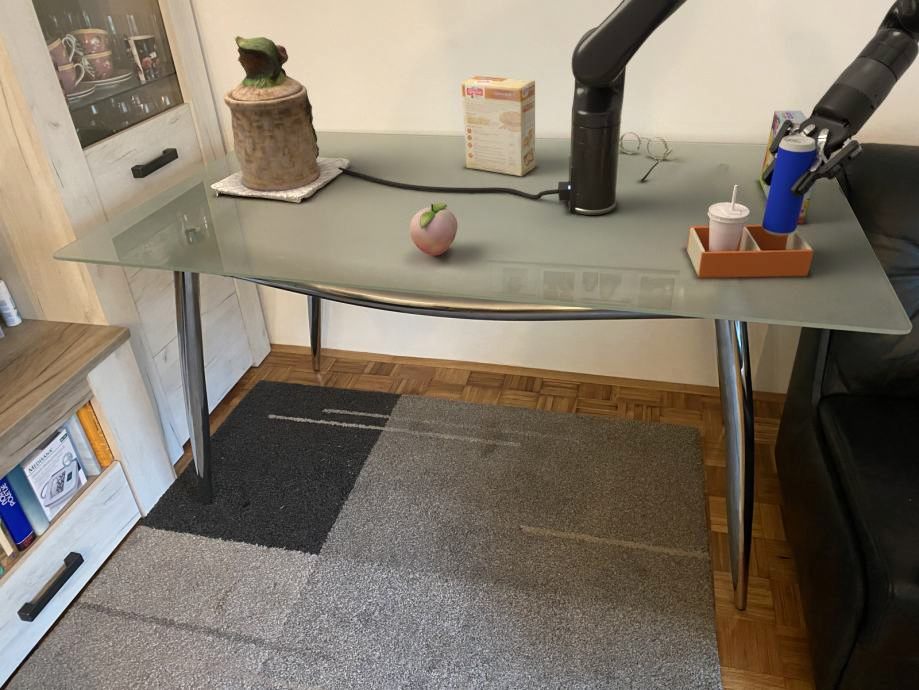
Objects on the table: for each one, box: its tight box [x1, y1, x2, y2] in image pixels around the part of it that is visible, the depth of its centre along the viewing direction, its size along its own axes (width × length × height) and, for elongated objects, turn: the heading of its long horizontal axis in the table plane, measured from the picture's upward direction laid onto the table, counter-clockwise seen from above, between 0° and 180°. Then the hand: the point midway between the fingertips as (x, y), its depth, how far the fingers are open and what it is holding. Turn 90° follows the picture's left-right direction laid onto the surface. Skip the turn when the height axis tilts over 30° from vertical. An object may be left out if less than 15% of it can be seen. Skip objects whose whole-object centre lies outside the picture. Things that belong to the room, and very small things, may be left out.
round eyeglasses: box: [619, 131, 673, 182], centre depth 156 cm, size 17×15×5 cm
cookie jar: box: [210, 35, 351, 204], centre depth 153 cm, size 25×25×32 cm
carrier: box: [685, 224, 814, 279], centre depth 115 cm, size 17×10×4 cm, turn 86°
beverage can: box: [761, 135, 816, 236], centre depth 109 cm, size 5×5×15 cm
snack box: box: [759, 110, 816, 224], centre depth 132 cm, size 21×6×15 cm, turn 168°
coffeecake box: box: [461, 75, 536, 177], centre depth 155 cm, size 15×7×20 cm, turn 58°
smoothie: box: [707, 184, 751, 252], centre depth 113 cm, size 6×6×14 cm
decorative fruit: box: [409, 202, 459, 256], centre depth 123 cm, size 9×8×10 cm
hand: (779, 188), depth 108 cm, fingers closed on beverage can, 5 cm apart
